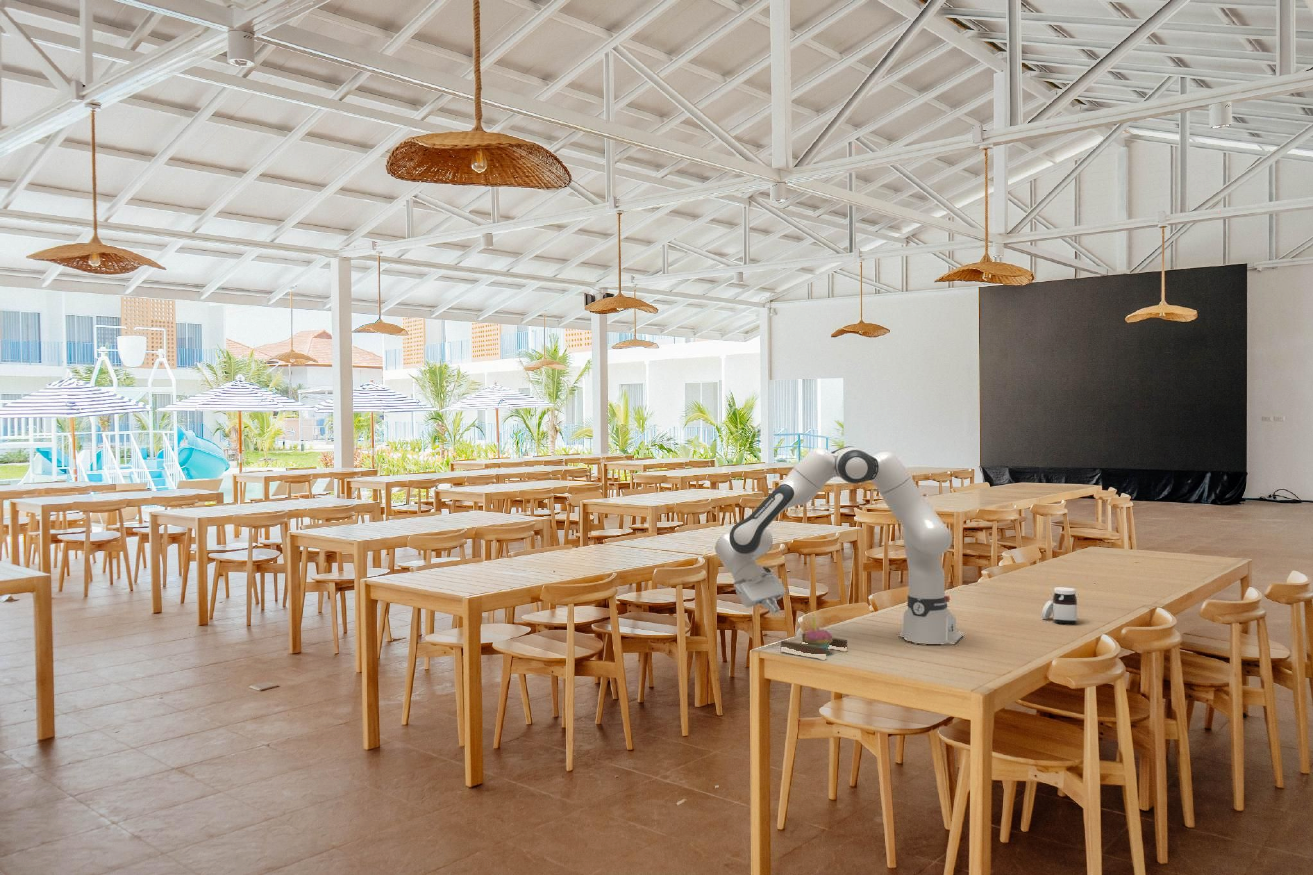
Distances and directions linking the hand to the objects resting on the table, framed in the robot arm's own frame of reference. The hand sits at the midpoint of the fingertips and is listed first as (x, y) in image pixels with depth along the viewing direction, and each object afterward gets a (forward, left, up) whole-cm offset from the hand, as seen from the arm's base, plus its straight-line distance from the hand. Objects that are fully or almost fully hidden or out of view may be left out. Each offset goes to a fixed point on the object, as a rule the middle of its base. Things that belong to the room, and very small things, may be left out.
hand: (776, 611), depth 304 cm
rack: (0, +14, -11) cm, 17 cm away
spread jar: (-89, +58, -11) cm, 107 cm away
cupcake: (0, +15, -11) cm, 19 cm away
